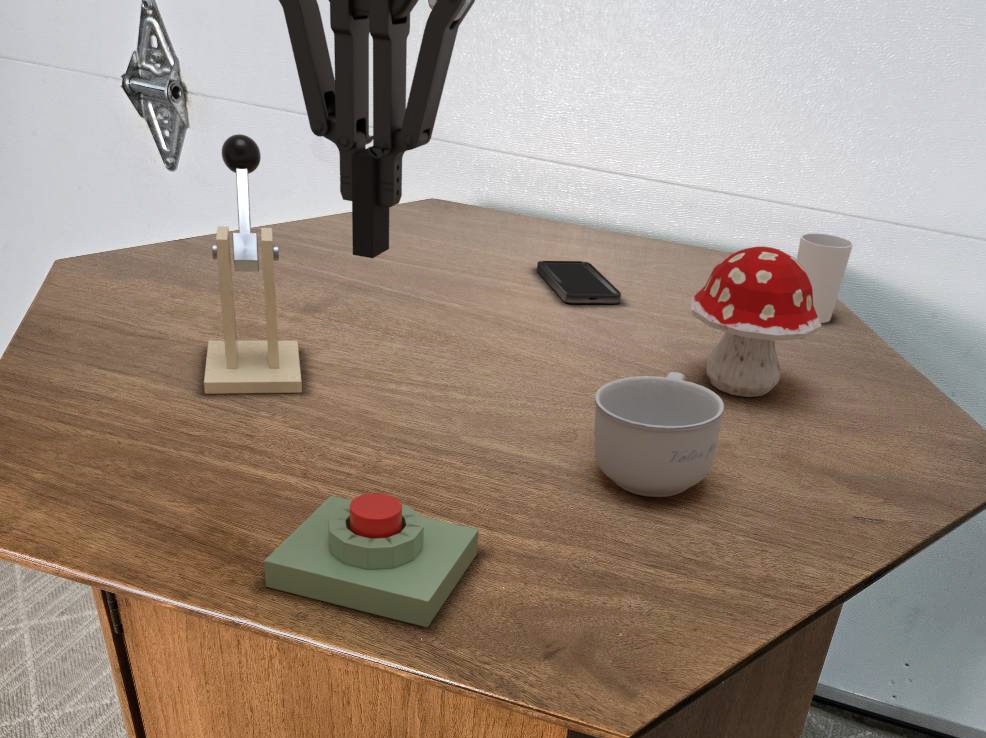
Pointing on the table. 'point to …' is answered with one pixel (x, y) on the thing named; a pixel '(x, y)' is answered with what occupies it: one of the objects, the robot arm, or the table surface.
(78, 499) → the table surface
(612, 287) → the phone
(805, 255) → the drinking glass
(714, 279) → the decorative mushroom
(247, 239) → the lever
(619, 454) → the teacup
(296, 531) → the control block
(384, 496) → the button
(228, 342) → the bracket
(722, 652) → the table surface
